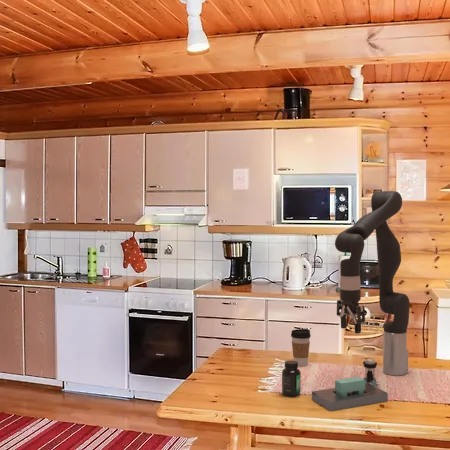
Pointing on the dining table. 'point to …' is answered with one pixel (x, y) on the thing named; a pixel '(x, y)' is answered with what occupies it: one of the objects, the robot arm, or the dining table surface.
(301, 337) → the coffee cup
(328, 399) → the grey slotted board
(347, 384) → the mint green notched block
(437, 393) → the dining table surface
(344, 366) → the dining table surface
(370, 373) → the push button
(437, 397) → the dining table surface
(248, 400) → the dining table surface
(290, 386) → the supplement bottle
